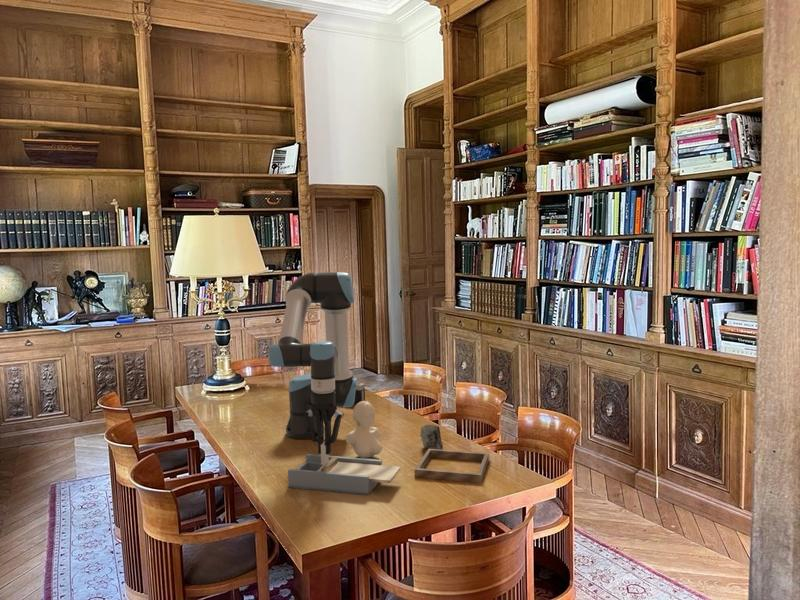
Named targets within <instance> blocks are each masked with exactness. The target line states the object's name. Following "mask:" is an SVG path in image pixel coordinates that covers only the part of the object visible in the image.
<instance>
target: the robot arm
mask: <svg viewBox="0 0 800 600" xmlns="http://www.w3.org/2000/svg"><path fill="white" fill-rule="evenodd" d="M352 279H353V278H352V276H351V274H350V273H348V272H339V271H333V272H331V271H330V272H308V273H305V274H303V275H302V274H301V276H299V277H298V278H297V279H295V280H294V281H293V282H292V284H290V285H289V287H288V289H287V290H286V293H285V298H284V299H285V303H286V307H285V310H284V315H283V319H282V324H281V328H280V332H279V336H278V337H279V338H278V343H273V344H271V345H270V346H269V349H268V361H269V362H268V363H269V365H270V366H272V367H277V368H281V367H282V368H291V367H293V368H294V367H296V368H297V367H310V373H307V374H305V373H304V374H301V375H298V376H295V377H293V378H291V379H290V380H289V381H288V382H289V385H288V386H289V387H288V393H289V394H288V397H289V398H288V399H289V400H288V401H289V418H288V420H287V424H286V428H285V436H287V437H288V438H290V439H295V440H307V439H309V440H310V439H311V440H312V442H313V443H317V447H318V448H317V452H318V455H321V465H326V464H327V463H328V462H329V456H330V454H331V453H332V444H334V443H335V442H337V439H338V435H339V430H340V427H341V426H340V425H341V420H342V418H344V412H341V411H339V410H338V408H350V407H352V406H354V405H355V404H354V400H355V392H356V383H358V378H357V377H355V376H354V373H353V372H352V370H350V362H349V361H350V358H349V357H350V356H349V354H350V353H349V331H348V330H349V329H348V326H349V325H348V311H349V310H350V309H351V308H352V304H353V303H354V302H355V300H356V299H355V291H354V284H353V280H352ZM311 304H320V309H321V310H322V311H323V313H324V325H325V340H319V341H314V342H311V343H302V340H303V334H304V331H305V330H304V329H305V323H306V318H307V312H308V309H309V308H310V306H311ZM333 417H334V418H335V419H334V421H333V422H334V423H333V426H332V419H333ZM332 427H333V428H332Z"/></svg>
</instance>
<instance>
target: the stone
mask: <svg viewBox="0 0 800 600" xmlns="http://www.w3.org/2000/svg"><path fill="white" fill-rule="evenodd" d="M420 438H421V441H422V445H423V447H424V448H426V449H427V450H428V449H439V450H444V447H443V446H444V445H443V442H442V437H441V429H440V427H439V425H434V424H425V425H423V426H421V427H420Z"/></svg>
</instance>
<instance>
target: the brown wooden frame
mask: <svg viewBox="0 0 800 600" xmlns="http://www.w3.org/2000/svg"><path fill="white" fill-rule="evenodd" d="M431 458H440V459H453V460H464V461H465V460H466V461H474V462H475V461H477V462H481V464H480V465H479V468H478V471H477V472H467V471H466V472H465V471H454V470H442V469H430V468H425V467H426V466H427V464H428V463H429V461H430V460H431ZM489 461H490V453H487V452H477V451H462V450H461V451H460V450H450V449H443V450H439V449H428V448H427V450H426V451H425V453H424V454H423V456H422V457H421V459H420V461H419V462H418V463H417V465H416V467H415V469H414V478H424V479H436V480H444V481H445V480H446V481H456V482H457V481H458V482H466V483H468V482H470V483H480V484H481V483H482V481H483V478H484V475H485V472H486V469H487V467H488V464H489ZM427 462H428V463H427Z"/></svg>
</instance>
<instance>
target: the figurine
mask: <svg viewBox="0 0 800 600" xmlns="http://www.w3.org/2000/svg"><path fill="white" fill-rule="evenodd" d="M351 415H352V416H351V417H352V420H353V422H354V424H355V426H356V427H355V428H353V430H352V431H350V432H348V433H347V435H346V437H345V442H346V443H347V444H350V446H351V447H352V449H353V451H354V453H355V454H356V455H357V456H358V458H364V459H370V458H372V457H374V456H376V455H377V456H378V455H380V453H381V452H382V451H383V445H382V444H381V442H380V440H379V438H380V435H381V434H380V430H379V428H378V427H375V426H374V427H373V425H374V424H375V421H376V419H375V417H376V410H375V408H374V406H373V405H372V404H371V402H369V401H367V400H365V401H361V402H359V403H358V404H356V405H355V406H354V407H353V410H352V414H351Z"/></svg>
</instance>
